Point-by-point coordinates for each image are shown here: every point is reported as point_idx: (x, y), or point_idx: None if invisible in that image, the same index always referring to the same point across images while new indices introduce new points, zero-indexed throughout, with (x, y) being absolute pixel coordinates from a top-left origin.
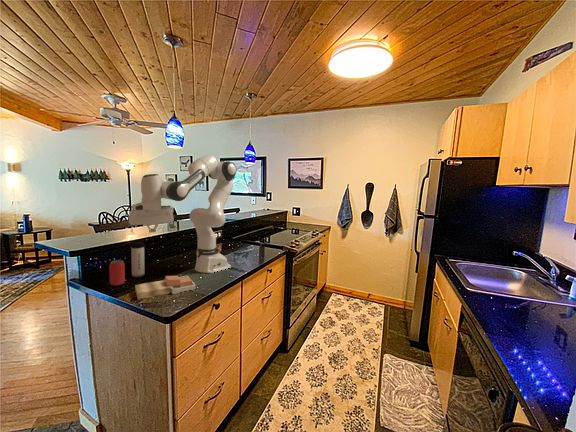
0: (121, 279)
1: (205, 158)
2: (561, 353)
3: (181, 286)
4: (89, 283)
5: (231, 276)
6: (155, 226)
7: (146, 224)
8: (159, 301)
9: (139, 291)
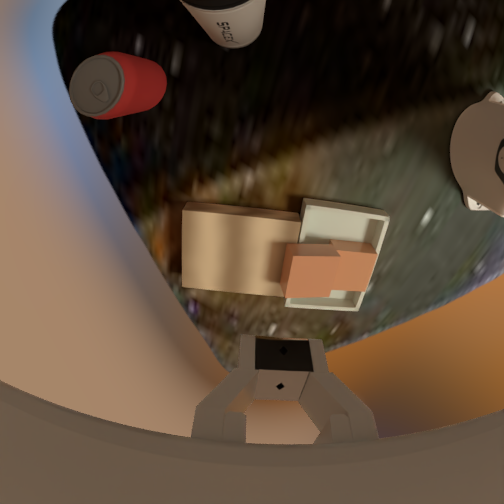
0: (145, 109)
1: None
2: None
3: None
4: (66, 46)
5: (478, 268)
6: (324, 417)
7: (193, 435)
8: (237, 314)
9: (189, 274)
